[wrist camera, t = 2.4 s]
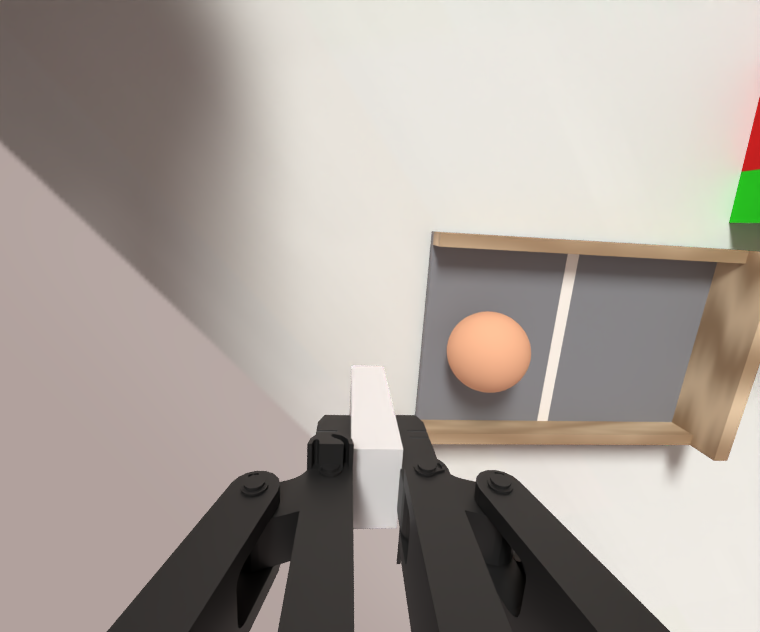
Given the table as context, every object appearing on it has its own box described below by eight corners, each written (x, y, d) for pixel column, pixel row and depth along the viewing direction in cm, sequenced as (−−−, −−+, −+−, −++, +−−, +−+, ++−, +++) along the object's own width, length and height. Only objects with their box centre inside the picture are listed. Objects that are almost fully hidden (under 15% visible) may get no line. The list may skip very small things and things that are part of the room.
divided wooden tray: (434, 231, 23) (449, 233, 20) (734, 249, 25) (796, 254, 22) (415, 429, 26) (425, 460, 23) (680, 431, 28) (727, 460, 25)
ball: (442, 302, 24) (465, 322, 19) (514, 305, 25) (555, 325, 20) (435, 372, 25) (455, 407, 21) (504, 373, 26) (539, 408, 21)
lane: (431, 231, 24) (434, 231, 23) (725, 249, 26) (734, 249, 25) (414, 425, 27) (415, 429, 26) (674, 427, 29) (681, 431, 28)
